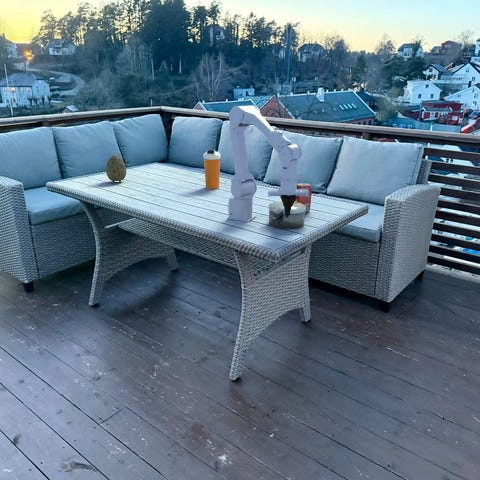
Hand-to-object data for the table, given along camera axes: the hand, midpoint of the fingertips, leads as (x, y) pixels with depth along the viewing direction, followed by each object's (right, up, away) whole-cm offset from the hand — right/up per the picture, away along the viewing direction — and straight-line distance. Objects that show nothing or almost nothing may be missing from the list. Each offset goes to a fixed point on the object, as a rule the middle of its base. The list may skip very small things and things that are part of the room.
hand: (287, 214), depth 153 cm
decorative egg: (-86, +23, +76) cm, 117 cm away
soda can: (+10, +3, +26) cm, 28 cm away
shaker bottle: (-32, +18, +66) cm, 75 cm away
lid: (0, +2, +6) cm, 7 cm away
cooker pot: (0, -4, +8) cm, 9 cm away
